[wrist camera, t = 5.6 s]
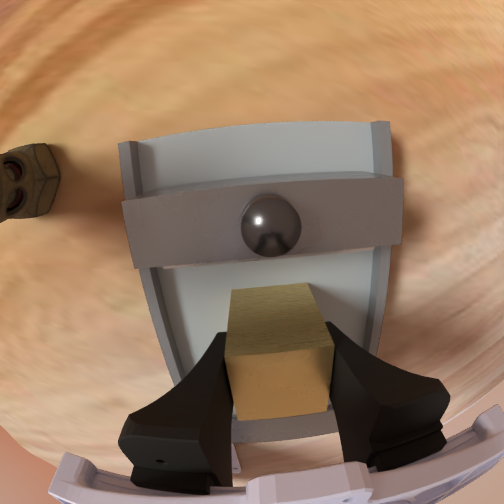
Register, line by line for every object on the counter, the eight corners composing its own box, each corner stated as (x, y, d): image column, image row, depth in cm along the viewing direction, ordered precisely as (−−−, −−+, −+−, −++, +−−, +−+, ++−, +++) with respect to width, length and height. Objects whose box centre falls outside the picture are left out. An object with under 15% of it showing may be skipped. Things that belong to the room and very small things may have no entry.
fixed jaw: (345, 384, 17) (361, 426, 14) (204, 398, 18) (198, 443, 14) (350, 356, 17) (369, 399, 13) (196, 371, 17) (187, 418, 13)
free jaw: (362, 225, 13) (413, 259, 9) (164, 243, 14) (126, 286, 9) (361, 171, 13) (417, 181, 8) (155, 188, 13) (108, 206, 8)
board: (358, 383, 19) (366, 401, 17) (190, 399, 19) (186, 418, 17) (374, 125, 13) (391, 121, 11) (132, 145, 13) (116, 143, 11)
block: (306, 342, 16) (326, 411, 11) (239, 348, 16) (237, 420, 11) (306, 282, 15) (334, 345, 9) (231, 289, 15) (224, 356, 10)
